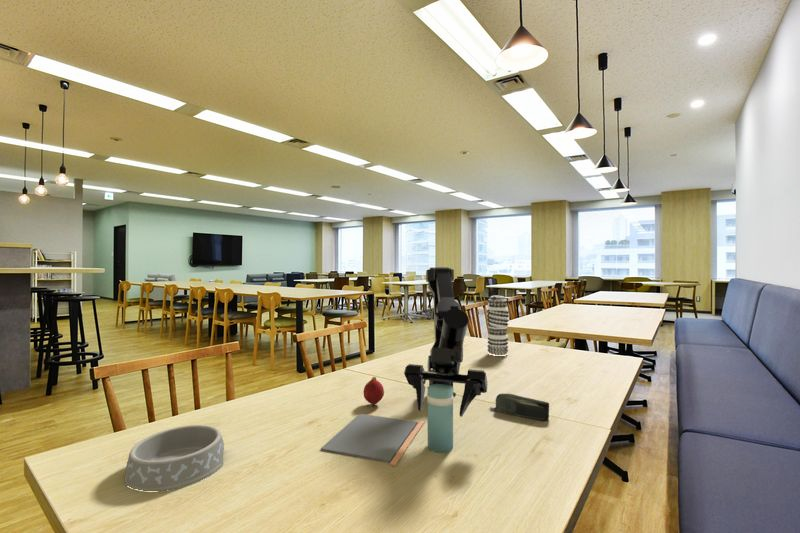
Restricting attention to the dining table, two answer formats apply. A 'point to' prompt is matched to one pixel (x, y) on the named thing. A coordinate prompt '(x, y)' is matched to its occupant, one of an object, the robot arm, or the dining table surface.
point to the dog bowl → (175, 458)
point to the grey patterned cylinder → (497, 325)
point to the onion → (373, 391)
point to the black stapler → (522, 406)
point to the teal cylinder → (440, 418)
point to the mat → (371, 437)
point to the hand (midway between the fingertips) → (439, 413)
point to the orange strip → (406, 444)
